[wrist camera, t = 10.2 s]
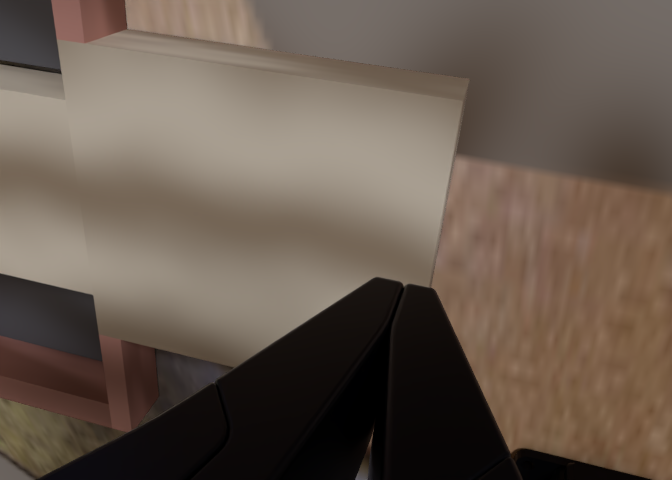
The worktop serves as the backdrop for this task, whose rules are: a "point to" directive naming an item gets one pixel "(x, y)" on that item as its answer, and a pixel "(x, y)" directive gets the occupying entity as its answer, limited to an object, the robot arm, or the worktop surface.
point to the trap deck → (195, 198)
